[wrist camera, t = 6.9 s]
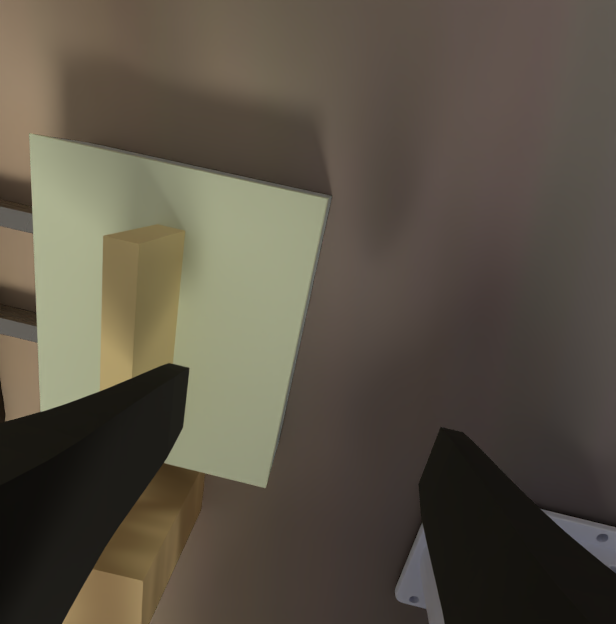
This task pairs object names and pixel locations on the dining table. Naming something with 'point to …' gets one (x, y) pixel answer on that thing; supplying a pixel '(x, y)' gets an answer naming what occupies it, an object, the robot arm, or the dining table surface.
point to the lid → (172, 292)
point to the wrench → (1, 407)
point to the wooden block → (142, 552)
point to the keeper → (7, 317)
